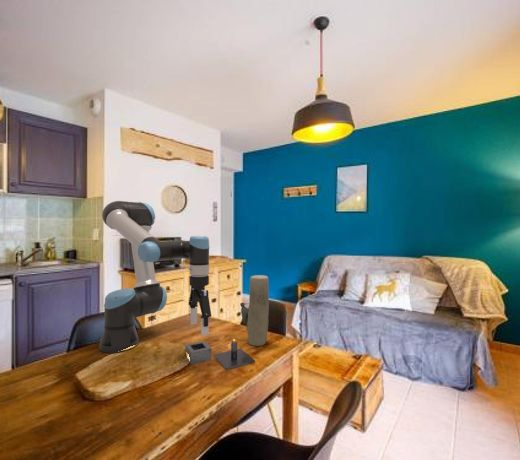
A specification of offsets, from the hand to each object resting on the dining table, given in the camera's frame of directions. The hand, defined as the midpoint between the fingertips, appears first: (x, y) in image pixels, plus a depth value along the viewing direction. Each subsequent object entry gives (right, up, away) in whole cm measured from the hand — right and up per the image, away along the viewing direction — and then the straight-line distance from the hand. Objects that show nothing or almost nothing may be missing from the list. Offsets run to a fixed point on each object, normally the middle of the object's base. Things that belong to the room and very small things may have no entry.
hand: (199, 328), depth 111 cm
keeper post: (+14, -12, 0) cm, 18 cm away
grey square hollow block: (0, -12, 0) cm, 12 cm away
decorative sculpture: (+21, -12, +17) cm, 30 cm away
